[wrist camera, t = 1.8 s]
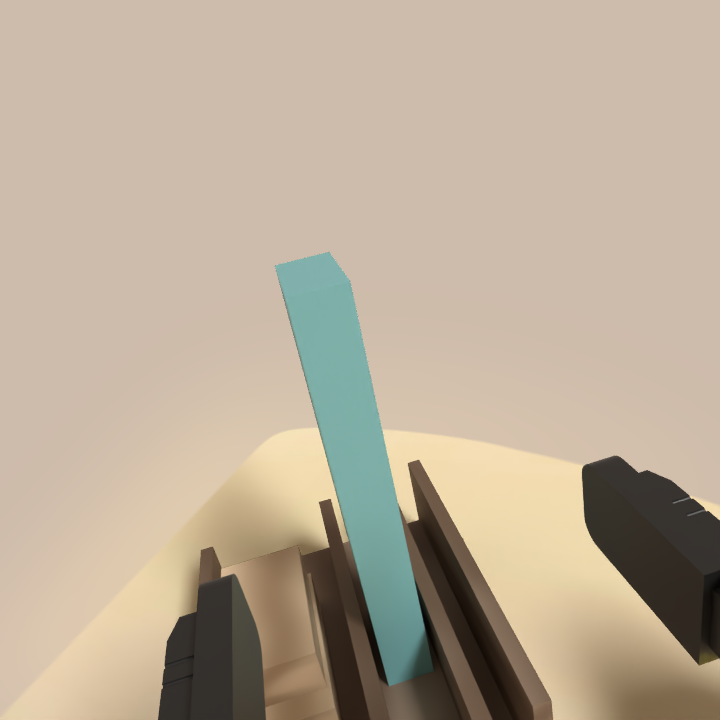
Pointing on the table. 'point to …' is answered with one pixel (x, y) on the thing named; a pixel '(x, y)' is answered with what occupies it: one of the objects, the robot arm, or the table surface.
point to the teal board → (356, 456)
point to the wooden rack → (441, 621)
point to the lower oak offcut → (318, 708)
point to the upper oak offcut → (283, 623)
